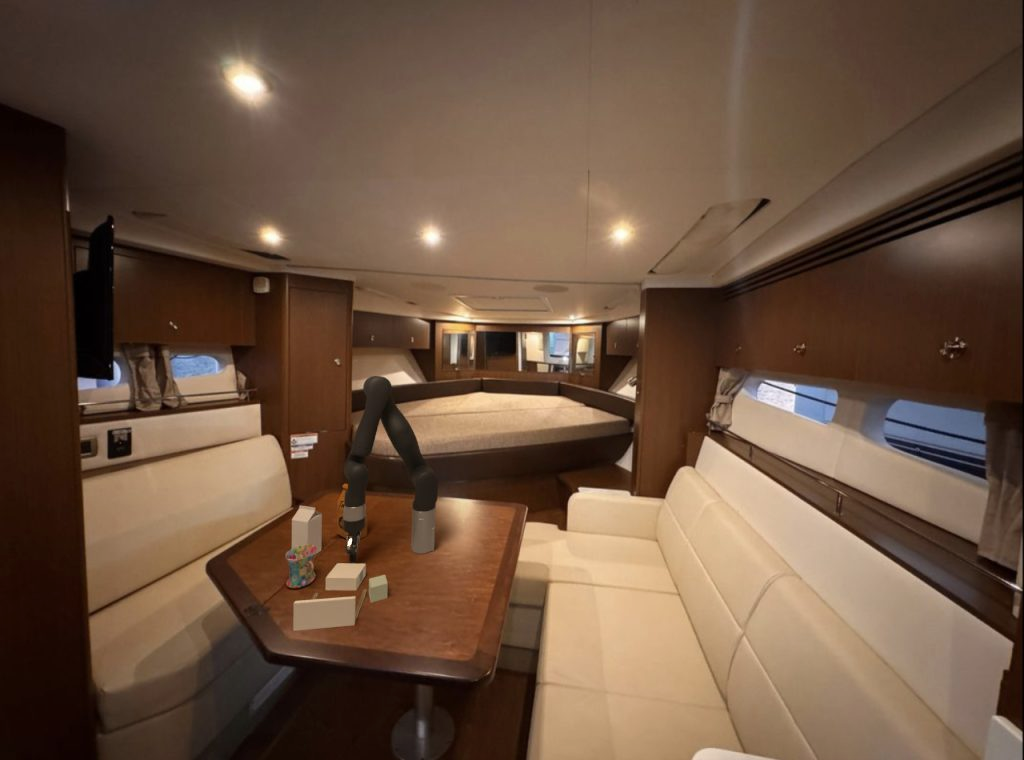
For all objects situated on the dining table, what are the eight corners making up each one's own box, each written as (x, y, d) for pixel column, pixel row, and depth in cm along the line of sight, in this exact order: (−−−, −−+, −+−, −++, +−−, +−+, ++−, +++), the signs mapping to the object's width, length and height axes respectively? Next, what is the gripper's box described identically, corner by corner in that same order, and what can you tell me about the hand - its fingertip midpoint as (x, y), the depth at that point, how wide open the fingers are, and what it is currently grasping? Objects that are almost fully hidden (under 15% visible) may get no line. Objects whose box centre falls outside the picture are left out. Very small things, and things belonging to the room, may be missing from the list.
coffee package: (349, 545, 137) (350, 492, 136) (333, 535, 144) (334, 485, 143) (371, 535, 145) (372, 486, 144) (354, 526, 152) (355, 479, 151)
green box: (384, 588, 112) (385, 574, 112) (387, 598, 108) (387, 583, 107) (368, 593, 109) (368, 578, 109) (370, 603, 105) (370, 587, 105)
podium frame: (366, 591, 110) (366, 588, 110) (355, 621, 97) (355, 618, 97) (314, 595, 107) (314, 592, 107) (295, 626, 95) (295, 624, 95)
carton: (365, 575, 118) (366, 563, 118) (356, 591, 110) (356, 578, 110) (336, 575, 118) (337, 563, 118) (325, 590, 110) (325, 577, 110)
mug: (279, 584, 112) (279, 553, 111) (308, 570, 120) (308, 541, 119) (297, 598, 106) (297, 566, 105) (326, 582, 114) (327, 552, 113)
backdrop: (355, 622, 97) (355, 596, 97) (354, 625, 96) (354, 598, 96) (295, 628, 94) (295, 600, 94) (293, 630, 93) (293, 603, 93)
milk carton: (307, 561, 125) (307, 511, 124) (291, 558, 127) (291, 509, 126) (321, 550, 132) (322, 504, 131) (306, 548, 133) (306, 501, 133)
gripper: (360, 523, 116) (358, 571, 117) (369, 507, 129) (368, 551, 130) (337, 524, 115) (335, 573, 116) (349, 508, 128) (347, 551, 129)
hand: (353, 561), depth 123 cm, fingers closed
